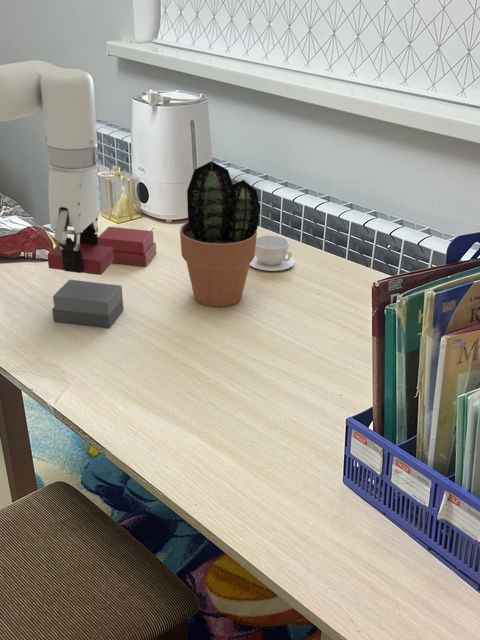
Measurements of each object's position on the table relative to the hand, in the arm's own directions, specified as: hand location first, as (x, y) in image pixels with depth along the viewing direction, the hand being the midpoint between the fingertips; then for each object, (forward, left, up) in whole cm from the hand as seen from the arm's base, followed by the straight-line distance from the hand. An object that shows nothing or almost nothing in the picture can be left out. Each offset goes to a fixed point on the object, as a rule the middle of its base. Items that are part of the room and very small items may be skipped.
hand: (81, 262), depth 116 cm
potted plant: (+20, +13, -10) cm, 26 cm away
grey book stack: (0, 0, -10) cm, 10 cm away
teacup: (+27, +31, -10) cm, 43 cm away
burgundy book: (0, 0, 0) cm, 0 cm away
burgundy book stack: (-2, +26, -10) cm, 28 cm away
